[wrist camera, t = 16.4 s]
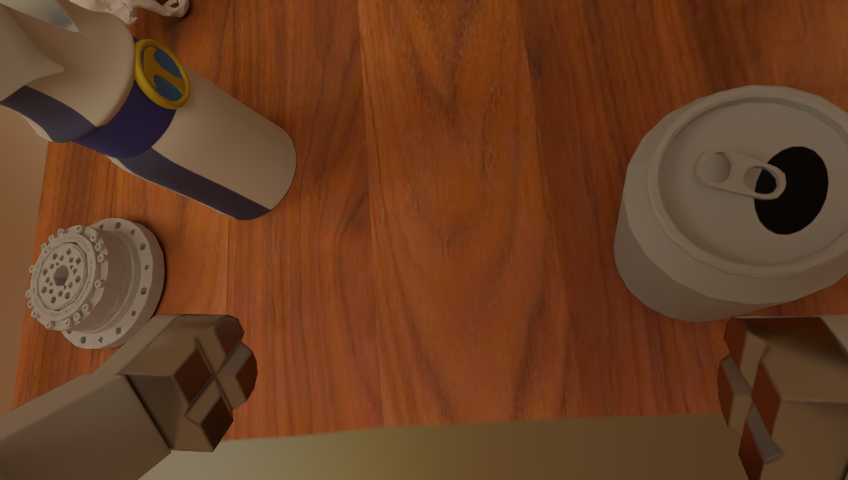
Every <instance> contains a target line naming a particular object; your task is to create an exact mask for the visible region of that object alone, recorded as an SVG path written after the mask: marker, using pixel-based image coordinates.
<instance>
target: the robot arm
mask: <svg viewBox="0 0 848 480" xmlns="http://www.w3.org/2000/svg"><path fill="white" fill-rule="evenodd" d="M243 335H244V330H243V328H242V326H241V324H240V322H239V320H238V318H235V317H233V316H230V315H208V314H161V315H158V316H154V317H153V318H152V319H150V320H149V321H148V322H147V323H146V324H145V325H144V326H143V327H142V328H141V329H140V330H139V331H138V332H137V333H135V334H134V335H133V336H132V337H131V338H130V339H129V340H128V341H127V342H126V343H125V344H124V345H123V346H122V347H120V348H119V349H118V350H117V351H116V352H115V353H114V354H113V355H112V356H111V357H110V358H109V359H108V360H107V361H105V362H104V363H103V364H102V365H101V366H100V367H99V368H98V369H97V370H96V371H95V372H94V373H93V374H88V373H85V374H83V375H81V376H79V377H77V378H75V379H73V380H71V381H69V382H67V383H65V384H63V385H61V386H60V387H58V388H56V389H54V390H52V391H50V392H48V393H46V394H44V395H42V396H40V397H38V398H36V399H34V400H32V401H30V402H28V403H26V404H24V405H22V406H20V407H18V408H16V409H14V410H12V411H10V412H8V413H6V414H4V415H2V416H0V480H138V479H139V478H140V477H142V476H143V475H144V474H145V473H147V472H148V471H149V470H150V469H151V468H153V467H154V466H155V465H156V464H158V463H159V462H160V461H161V460H163V459H164V458H165V457H166V456H168V455H169V454H170V453H171V451H170V450H180V451H198V452H213V451H214V450H215V448H216V447H217V445H218V444H219V442H220V441H221V439H222V438H223V436H224V434H225V433H226V431H227V430H228V428H229V427H230V425H231V424H232V422H233V410H234V409H236V408H237V407H239V406H240V405H241V404H243V403H244V402H246V401H247V399H248V398H249V396H250V394H251V393H252V391H253V390H254V387H255V383H256V378H257V374H258V371H257V362H256V359H255V356H254V354H253V351H252V350H251V349H250V348H248V347H247V346H246V345H245V344H244V343H242V342H241V341H242V338H243ZM724 340H725V342H726V344H727V347H728V349H729V351H730V353H729V354H728V355H727V356H726V357H725V358H723V359H722V360H721V361H720V363H719V370H718V378H717V381H718V396H719V401H720V405H721V409H722V413H723V415H724V418H725V421H726V423H727V426H728V427H729V428H730V429H731V430H733V431H734V432H735V433H737V434H738V435H739V436H740V437H742V439H741V444H740V448H739V453H738V454H739V456H740V459H741V461H742V464H743V466H744V469H745V471H746V474H747V476H748V479H749V480H848V315H813V316H812V317H811V316H731V317H730V319H729V321H728V322H727V324H726V329H725V334H724Z"/></svg>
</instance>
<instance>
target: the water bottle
mask: <svg viewBox="0 0 848 480" xmlns="http://www.w3.org/2000/svg"><path fill="white" fill-rule="evenodd" d="M0 105H1V106H3V107H5V108H8V109H10V110H11V111H13V112H15V113H17V114H18V115H20V116H22V117H23V118H24V119H26V120H27V121H28V122H29V124H30V125H31V127H32V128H33V130H35V132H36V133H37V134H38V135H39V136H41V137H42V138H44V139H46V140H49V141H52V142H57V143H64V142H70V141H73V142H75V143H78V144H80V145H83V146H85V147H87V148H90V149H92V150H95V151H97V152H100V153H102V154H104V155H106V156H107V157H108V158H109V159H110V160H111V161H112V162H113V163H115V164H116V165H118V166H119V167H120V168H122V169H124V170H125V171H127V172H129V173H131V174H133V175H135V176H137V177H140V178H142V179H144V180H147V181H149V182H151V183H154V184H156V185H159V186H161V187H164V188H166V189H169V190H171V191H173V192H176V193H178V194H181V195H183V196H185V197H188V198H190V199H192V200H194V201H196V202H199V203H201V204H203V205H205V206H207V207H209V208H212V209H214V210H216V211H218V212H220V213H222V214H224V215H226V216H228V217H231V218H233V219H238V220H249V219H254V218H257V217H259V216H262V215H264V214H265V213H267V212H269V211H270V210H271V209H273V208H274V207H275V206H276V205H277V204H278V203H279V202H280V201H281V200H282V198H283V197H284V196H285V194H286V193H287V191H288V189H289V187H290V185H291V183H292V180H293V177H294V174H295V169H296V152H295V148H294V145H293V142H292V140H291V138H290V137H289V135H288V134H287V133H286V132H285V131H284V130H283V129H282V128H280V127H279V126H277V125H276V124H274V123H272V122H271V121H269V120H268V119H266V118H264V117H263V116H261V115H260V114H258V113H256V112H255V111H253V110H252V109H250V108H249V107H247V106H245V105H244V104H242V103H241V102H239V101H238V100H236V99H235V98H233V97H232V96H230V95H229V94H228V93H226V92H225V91H223V90H222V89H220V88H219V87H218V86H216V85H215V84H213V83H212V82H210V81H209V80H208V79H206V78H205V77H203V76H202V75H200V74H199V73H197V72H196V71H194V70H192V69H190V68H189V67H187V66H185V65H183V64H182V63H181V62H180V60H179V59H178V58H177V56H176V55H175V54H174V53H173V52H172V51H171V50H170V49H169V48H168V47H167V46H165V45H164V44H162V43H160V42H158V41H156V40H152V39H143V40H140V41H139V40H138V39H137V38H135V37H134V36H132V34H131V32H130V30H129V28H128V26H127V25H126V24H125V22H124V21H123V20H121V19H120V18H118V17H117V16H115V15H113V14H111V13H107V12H100V11H91V10H88V9H86V8H83V7H81V6H79V5H77V4H75V3H73V2H71V1H69V0H0Z"/></svg>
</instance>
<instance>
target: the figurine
mask: <svg viewBox="0 0 848 480" xmlns="http://www.w3.org/2000/svg"><path fill="white" fill-rule="evenodd" d="M70 1H71V2H73V3H75V4H77V5H79V6H81V7H83V8H86V9H88V10H91V11H100V12H107V13H111V14H113V15H115V16H117V17H118V18H120V19H121V20H123V21H124V22H125V24H126V25H127V26H128V28H129V30H130V25H133V24H134V23H135V22H137V20H138V19H137V10H136V8H137V7H139V8H144V9H147V10H150V11H153V12H157V13H159V14H161V15H163V16H166V17H167V16H176V17H183V16H184V14H186V12H187V10H188V9H189V0H178V3H179V6H178V7H177V8H172V7H171V5H172V4H173V3H176V2H177V0H169V1H167V2H166V3H165V4H164V5H163V6H162V5H161V4H159V3H158V2H157V1H156V0H70Z"/></svg>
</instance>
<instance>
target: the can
mask: <svg viewBox="0 0 848 480" xmlns="http://www.w3.org/2000/svg"><path fill="white" fill-rule="evenodd" d="M613 250H614V256H615V261H616V266H617V270H618V272H619V274H620V276H621V278H622V279H623V281H624V283H625V285H626V286H627V288H628V290H629V291H630V292H631V293H632V294H633V295H635V296H636V297H637V298H638V299H639V300H640V301H641V302H642V303H643V304H644V305H645V306H646V307H648V308H650V309H653V310H655V311H657V312H659V313H661V314H663V315H665V316H667V317H669V318H673V319H678V320H684V321H689V322H694V323H697V322H707V321H717V320H724V319H727V318H730V317H731V316H738V315H742V314H746V313H750V312H753V311H757V310H761V309H764V308H768V307H772V306H775V305H779V304H783V303H786V302H790V301H794V300H797V299H799V298H802V297H804V296H806V295H809V294H811V293H814V292H816V291H818V290H821V289H823V288H826V287H828V286H831V285H833V284H835V283H836V282H837V281H838V280H839V279H841V278H842V277H843V276H844V275H845V274H846V273H847V272H848V112H846V111H844V110H843V109H841V108H840V107H838V106H836V105H835V104H833V103H832V102H830V101H828V100H827V99H825V98H824V97H822V96H819V95H815V94H812V93H809V92H805V91H802V90H798V89H795V88H791V87H788V86H768V85H748V86H743V87H739V88H734V89H729V90H725V91H720V92H716V93H714V94H712V95H710V96H705V97H701V98H698V99H696V100H694V101H692V102H690V103H688V104H686V105H684V106H682V107H681V108H679V109H677V110H675V111H673V112H671V113H669V114H667V115H666V116H665V117H664V118H663V119H662V120H661V121H660V122H659V123H658V124H657V125H656V126H655V127H654V128H652V129H651V130H650V131H649V132H648V133H647V134H646V135H645V136H644V137H643V139H642V140H641V142H640V144H639V146H638V148H637V150H636V151H635V153H634V155H633V157H632V159H631V161H630V162H629V164H628V168H627V174H626V179H625V184H624V190H623V195H622V201H621V206H620V211H619V217H618V222H617V228H616V234H615V240H614V246H613Z"/></svg>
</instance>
